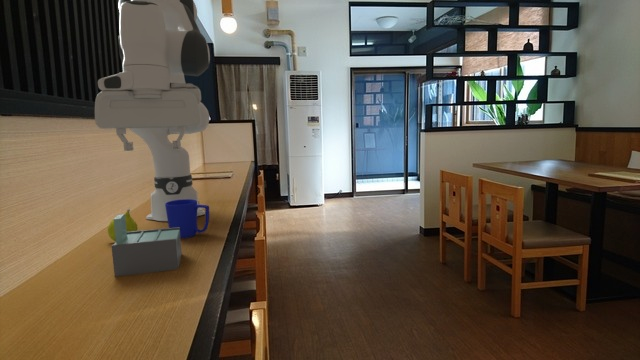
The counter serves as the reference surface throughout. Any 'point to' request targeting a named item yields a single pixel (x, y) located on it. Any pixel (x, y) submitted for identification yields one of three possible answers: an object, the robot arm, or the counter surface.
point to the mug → (185, 216)
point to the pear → (130, 226)
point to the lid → (139, 237)
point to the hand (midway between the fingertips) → (153, 149)
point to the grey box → (146, 255)
